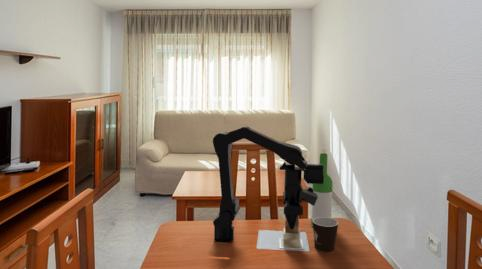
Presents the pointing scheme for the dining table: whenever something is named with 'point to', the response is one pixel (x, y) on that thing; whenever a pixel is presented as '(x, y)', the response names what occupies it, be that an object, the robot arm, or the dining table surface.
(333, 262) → the dining table surface
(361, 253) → the dining table surface
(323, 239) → the coffee mug
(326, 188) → the wine bottle
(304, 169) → the robot arm
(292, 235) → the beech block
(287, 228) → the walnut cube
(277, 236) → the build board
